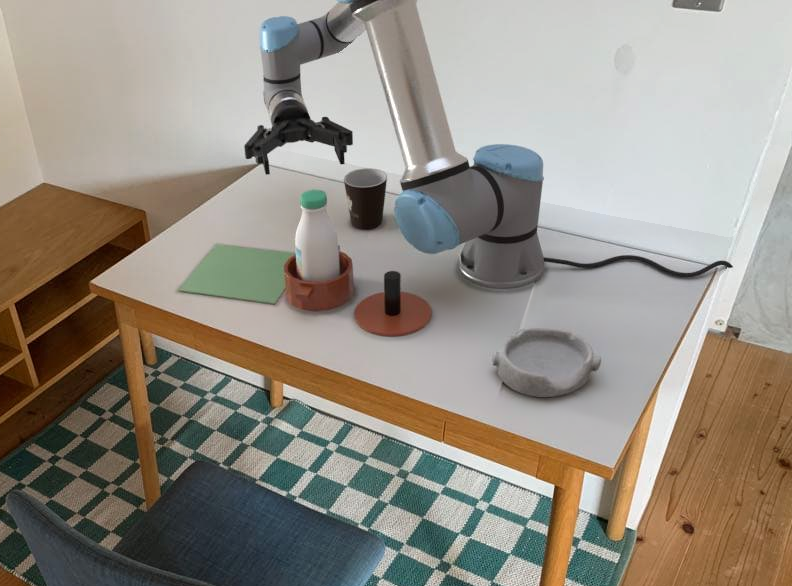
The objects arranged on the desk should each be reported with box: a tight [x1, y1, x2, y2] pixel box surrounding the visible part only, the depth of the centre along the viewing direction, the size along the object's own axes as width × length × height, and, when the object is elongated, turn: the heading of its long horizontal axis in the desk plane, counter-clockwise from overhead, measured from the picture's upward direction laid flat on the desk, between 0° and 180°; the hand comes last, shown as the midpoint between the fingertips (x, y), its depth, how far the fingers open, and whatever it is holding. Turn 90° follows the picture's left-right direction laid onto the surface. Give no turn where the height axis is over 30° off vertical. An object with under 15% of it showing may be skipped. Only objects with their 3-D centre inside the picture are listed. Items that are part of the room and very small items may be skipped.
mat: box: [178, 243, 296, 305], centre depth 178 cm, size 20×18×1 cm
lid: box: [353, 270, 432, 337], centre depth 159 cm, size 13×13×9 cm
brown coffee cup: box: [343, 167, 388, 231], centre depth 187 cm, size 12×9×10 cm
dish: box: [491, 327, 602, 398], centre depth 143 cm, size 14×14×5 cm
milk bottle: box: [294, 189, 340, 282], centre depth 163 cm, size 8×8×20 cm
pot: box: [284, 245, 355, 312], centre depth 168 cm, size 12×18×6 cm
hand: (304, 162), depth 163 cm, fingers open, 13 cm apart
